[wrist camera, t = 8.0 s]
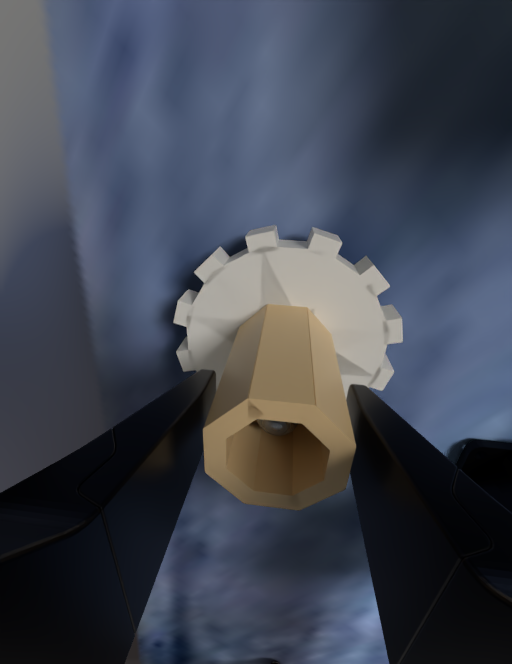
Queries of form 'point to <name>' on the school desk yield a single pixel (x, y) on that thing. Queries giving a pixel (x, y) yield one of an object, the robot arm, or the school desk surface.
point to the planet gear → (285, 362)
